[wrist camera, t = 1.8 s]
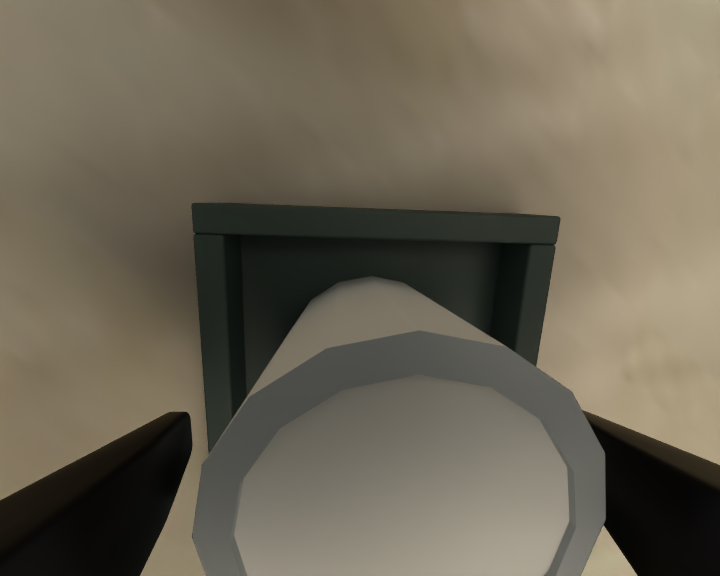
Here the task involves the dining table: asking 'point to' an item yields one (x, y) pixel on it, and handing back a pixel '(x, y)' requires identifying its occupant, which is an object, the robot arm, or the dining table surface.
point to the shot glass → (400, 453)
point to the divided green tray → (355, 277)
